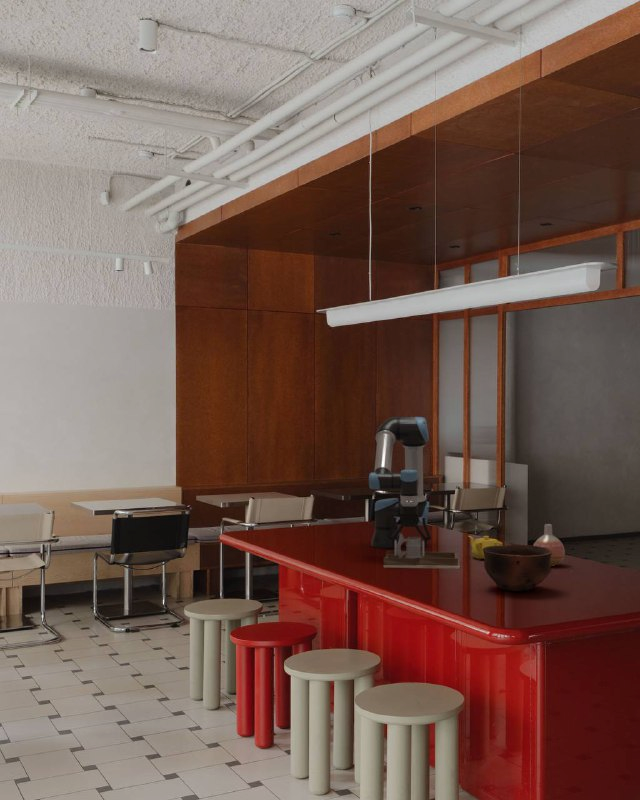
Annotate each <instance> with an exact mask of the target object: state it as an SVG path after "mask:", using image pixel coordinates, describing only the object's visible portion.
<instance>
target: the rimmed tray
mask: <svg viewBox="0 0 640 800" xmlns="http://www.w3.org/2000/svg"><path fill="white" fill-rule="evenodd" d="M401 551H402V552H404V551H405V550H401ZM422 555H423V551H422ZM383 568H393V569H395V568H397V569H398V568H401V569H442V570H443V569H447V570H448V569H450V570H452V569H453V570H455V569H456V570H460V569H461V566H460V560H459V555H458V552H453V551H448V552H446V551H424V556H423V558H420V557H418V558H405V555H404V556H402V557H401V558H399V556H398V555H396V556H395V550H386V551H385V557H383Z"/></svg>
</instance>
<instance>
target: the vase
mask: <svg viewBox="0 0 640 800" xmlns="http://www.w3.org/2000/svg"><path fill="white" fill-rule="evenodd" d="M543 532H544V533H543V534H542V535H541V536H540V537H539V538H537V540H536V541H535V542H534V543H533V545H532V546H538V547H543V548H546V549H549V550H551V551H552V554H551V559H550V565H557V566H558V565H559V564H560V563H562V562H563V560H564V559H565V557H566V556H565V554H566V550H565V547H564V544H563V542H562V541H561V540H560V539H559V538H557V537H556V536H555V535H554V534H553V525H552V524H551V523H545V524H544V531H543Z"/></svg>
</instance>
